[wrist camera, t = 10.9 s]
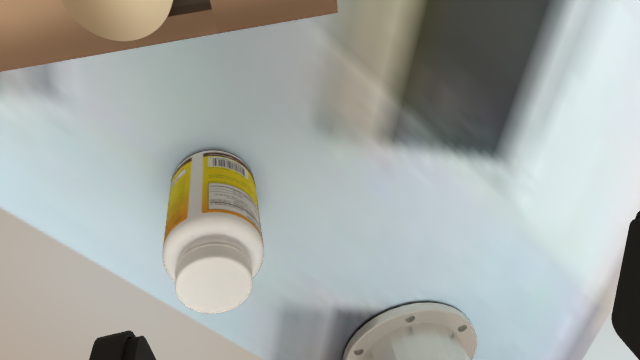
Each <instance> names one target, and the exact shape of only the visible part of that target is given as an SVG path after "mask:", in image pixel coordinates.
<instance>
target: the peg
mask: <svg viewBox="0 0 640 360" xmlns="http://www.w3.org/2000/svg"><path fill="white" fill-rule="evenodd" d="M61 1H62V3H63V5H64V6H65V8H66V10H67V11H68V12H69V14H70V15H71V16H72V17H73V18H74V19H75V20H76V21H77V22H78V23H79V24H80V25H81V26H82V27H84V28H85V29H87V30H88V31H90V32H92V33H93V34H95V35H97V36H100V37H103V38H106V39H109V40H115V41H133V40H137V39H141V38H143V37H146V36H148V35H150V34H151V33H153V32H154V31H156V30H157V29H158V28H159V27H160V26H161V25H162V24H163V22H164V21H165V20H166V18H167V16H168V14H169V12H170V9H171V6H172V2H173V0H61Z"/></svg>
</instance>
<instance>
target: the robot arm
mask: <svg viewBox="0 0 640 360" xmlns="http://www.w3.org/2000/svg"><path fill="white" fill-rule="evenodd" d="M612 324H613V327H614V329H615V331H616V333H617V334H618V336H619V337H620V338H621V339H622V340H623V342H624V343H625V344H626V345H627V346H628V347H629V349H630V350H631V351H632V352H633V353H634V354H635V355H636V357H637V358H638V359H639V360H640V211H639V212H638V213H637V215H636V218H635V219H634V220H632V221H631V223H630V226H629V231H628V236H627V241H626V246H625V251H624V256H623V261H622V266H621V271H620V276H619V281H618V286H617V291H616V297H615V302H614V307H613V312H612ZM476 346H477V339H476V334H475V331H474V329H473V327H472V325H471V323H470V322H469V320H468V318H467V317H466V316H465V315H464V314H463V313H462V312H460V311H459V310H457V309H455V308H453V307H451V306H447V305H444V304H438V303H414V304H409V305H404V306H400V307H397V308H394V309H391V310H389V311H387V312H384V313H382V314H380V315H378V316H377V317H375V318H373V319H372V320H370V321H369V322H367V323H366V324H365V325H364V326H363V327H362V328H360V329H359V330H358V331H357V332H356V333H355V335H354V336H353V337H352V338H351V340H350V341H349V343H348V345H347V347H346V349H345V351H344V355H343V360H472V358H473V356H474V354H475V351H476ZM89 360H156V358H155V357H154V354H153V352H152V350H151V348H150V346H149V344H148V342H147V340H146V339H145V337H144V336H140V337H135V335H134V334H133V332H131V331H125V332H121V333H117V334H112V335H108V336H104V337H100V338H97V340H96V341H95V342H94V345H93V348H92V352H91V355H90V359H89Z"/></svg>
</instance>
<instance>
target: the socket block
mask: <svg viewBox="0 0 640 360" xmlns="http://www.w3.org/2000/svg"><path fill="white" fill-rule="evenodd" d="M337 12H338V10H337V0H173V2H172V6H171V9H170V12H169V14H168V16H167V18H166V20H165V21H164V22H163V24H162V25H161V26H160V27H159V28H158V29H157V30H156V31H154V32H153V33H151V34H150V35H148V36H146V37H143V38H141V39H137V40H133V41H115V40H109V39H106V38H103V37H100V36H97V35H95V34H93V33H92V32H90V31H88V30H87V29H85V28H84V27H82V26H81V25H80V24H79V23H78V22H77V21H76V20H75V19H74V18H73V17H72V16H71V15H70V14H69V12H68V11H67V10H66V8H65V6H64V5H63V3H62V1H61V0H0V72H1V71H7V70H13V69H18V68H24V67H30V66H35V65H41V64H47V63H53V62H58V61H64V60H70V59H75V58H81V57H87V56H92V55H98V54H104V53H109V52H115V51H121V50H127V49H132V48H138V47H144V46H149V45H155V44H161V43H166V42H172V41H178V40H184V39H189V38H195V37H201V36H206V35H212V34H218V33H223V32H229V31H235V30H241V29H246V28H252V27H258V26H263V25H269V24H275V23H280V22H286V21H292V20H298V19H303V18H309V17H315V16H320V15H326V14H332V13H337Z"/></svg>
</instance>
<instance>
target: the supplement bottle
mask: <svg viewBox="0 0 640 360" xmlns="http://www.w3.org/2000/svg"><path fill="white" fill-rule="evenodd" d="M263 256H264V245H263V238H262V232H261V225H260V218H259V211H258V203H257V196H256V188H255V182H254V178H253V175H252V173H251V171H250V169H249V167H248V166H247V165H246V164H245V163H244V162H243V161H242V160H241V159H239V158H238V157H236V156H235V155H233V154H230V153H227V152H223V151H216V150H210V151H203V152H199V153H196V154H194V155H192V156H190V157H188V158H187V159H185V160H184V161H183V162H182V163H181V164H180V165H179V166H178V167H177V169H176V170H175V172H174V174H173V177H172V180H171V186H170V195H169V203H168V212H167V221H166V229H165V237H164V245H163V263H164V267H165V269H166V271H167V273H168V275H169V276H170V277H171V279H172V280H173V281H174V282H175V290H176V294H177V296H178V298H179V299H180V300H181V302H182V303H183V304H184V305H186V306H187V307H188V308H190V309H192V310H195V311H198V312H202V313H212V314H213V313H222V312H226V311H229V310H232V309H234V308H236V307H238V306H239V305H241V304H242V303H243V302H244V301H245V300H246V299H247V297H248V296H249V294H250V292H251V289H252V283H253V281H252V278H253V277H254V276H255V275H256V274H257V272H258V271H259V269H260V267H261V265H262V262H263Z"/></svg>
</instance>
